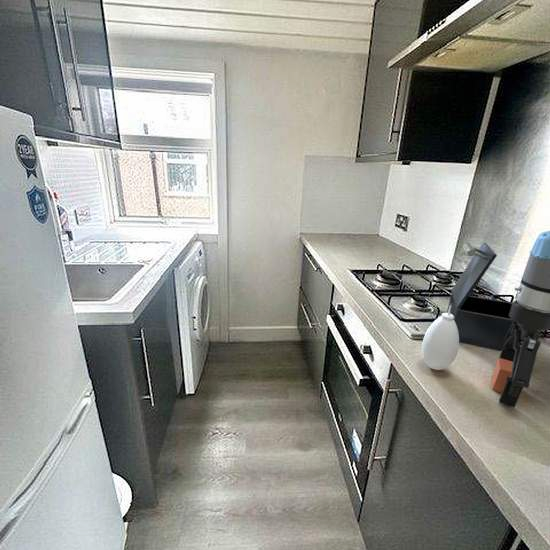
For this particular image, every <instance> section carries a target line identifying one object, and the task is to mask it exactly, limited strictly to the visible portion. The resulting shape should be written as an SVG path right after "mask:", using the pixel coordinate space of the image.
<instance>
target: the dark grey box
mask: <svg viewBox="0 0 550 550" xmlns="http://www.w3.org/2000/svg"><path fill="white" fill-rule="evenodd" d="M512 304H513V302H511V301H506V300H499V299H493V298H487V297H482V296H475V295H471V294H470V295H469V296H468V298H467V299H466V300H465V302H464V303H463V305H462V306H461V308H460V309H457V308H456V305H455V302H454V298H453V295H452V294H450V297H449V303H448V306H447V310H446V313H448V310H449V307H450V305H451V310H450V314H452V315H453V316H454V319H453V320H454V321H455V323H456V325H457V329H458V334H459V343H463V344H468V345H472V346H477V347H482V348H486V349H491V350H495V351H500V352H502V349H503V348H505V347H504V345H503V344H504V342H505V341H504V340H503V338H504V337H505V335H506V333H507V331H508V330H509V328H510V326H511V324H512V322H513V320H512V319H511V318H510V317H509V312H510V309H511V306H512ZM513 350H514V349H513ZM514 351H515V350H514Z"/></svg>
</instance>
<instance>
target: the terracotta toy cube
mask: <svg viewBox="0 0 550 550" xmlns="http://www.w3.org/2000/svg"><path fill="white" fill-rule="evenodd" d="M512 365H513V362H512V361H508V360H505V359H501V358H499V357H498V358H497V360H496V364H495V365H494V369H493V372H492V374H491V377H490V379H491V387H492V388H491V390H492V391H495V392H498V393H501V394H502V392H503V389H504V387H505V384H506V382H507V380H506V377H510V376H511V371H512ZM522 392H523V390H522V391H521V393H520V396H521V394H522ZM520 396H519V398H520Z"/></svg>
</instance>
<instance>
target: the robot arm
mask: <svg viewBox="0 0 550 550" xmlns="http://www.w3.org/2000/svg"><path fill="white" fill-rule="evenodd" d="M514 291H516V294H515V296H514V299H515V300H513V302H512V303H513V304H512V306H511V309H510V312H509V317H510V318H511V319H512V320H513V322H512V324H511V326H510V328H509V330H508V331H507V333H506V335H505V337H504V338H503V340H504V341H505V342H504V344H503V345H504V347H505V348H503V349H502V351H500V354H499V357H498V358H501V359H505V360H508V361H512V362H513V365H512V371H511V376H510V377H506V380H507V382H506V384H505V387H504V389H503V392H502V393H501V395H500V397H499V400H498V402H499V404H502V405H506V406H507V407H511V408H516V405H517V403H518V400H519V399H520V397H519V396H521V394H522V392H523V389H524V388H526V389H528V388H529V387H530V381H531V378H532V374H533V369H534V366H535V361H536V358H537V355H538V352H539V349H540V346H541V344H542V343H541V341H540V339H539V338H540V334H538V332H539V331H548V330H550V230H547V231H546V230H545V231H543V232H540V233H539V234H538V236H537V237H536V240H535V241H534V243H533V245H532V247H531V249H530V251H529V257H528V259H527V262H526V265H525V268H524V271H523V273H522V277H521V280H520V283H519V286H517V285H516V286H515V287H514ZM513 349H514V350H515V351H514V350H513ZM521 391H522V392H521ZM520 393H521V394H520Z"/></svg>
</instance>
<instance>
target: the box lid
mask: <svg viewBox="0 0 550 550" xmlns="http://www.w3.org/2000/svg"><path fill="white" fill-rule="evenodd" d="M462 248H463V249H464V251H465V254H466V255H467V256H468V257H472V259H471V260H470V261H469V263H468V264H467V266H466V268H465V269H464V270H463V271H462V273H461V275H460V277H459V278H458V280H457V281H456V282H455V284H454V286H453V287H452V289H451V295H453V298H454V302H455V305H456V308H457V309H460V308H461V306H462V305H463V303H464V302H465V300H466V299H467V298H468V296H469V295H470V296H471V293H472V292H473V290H474V289H475V288H476V287H477V285H478V284H479V282H480V281H481V279H482V278H483V276H484V275H485V274H486V272H487V271H488V269H489V268H490V266H491V265H492V263H493V262H494V261H495V259H496V258H497V256H498V254H497V253H496V252H494V250H493V248H491V246H489V245H488V243H486V242H484V241H483V242H482V244H481V245H480V246H479V248H477V247H474V246H472V244H471V243H470V242H465V243H463V244H462Z"/></svg>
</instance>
